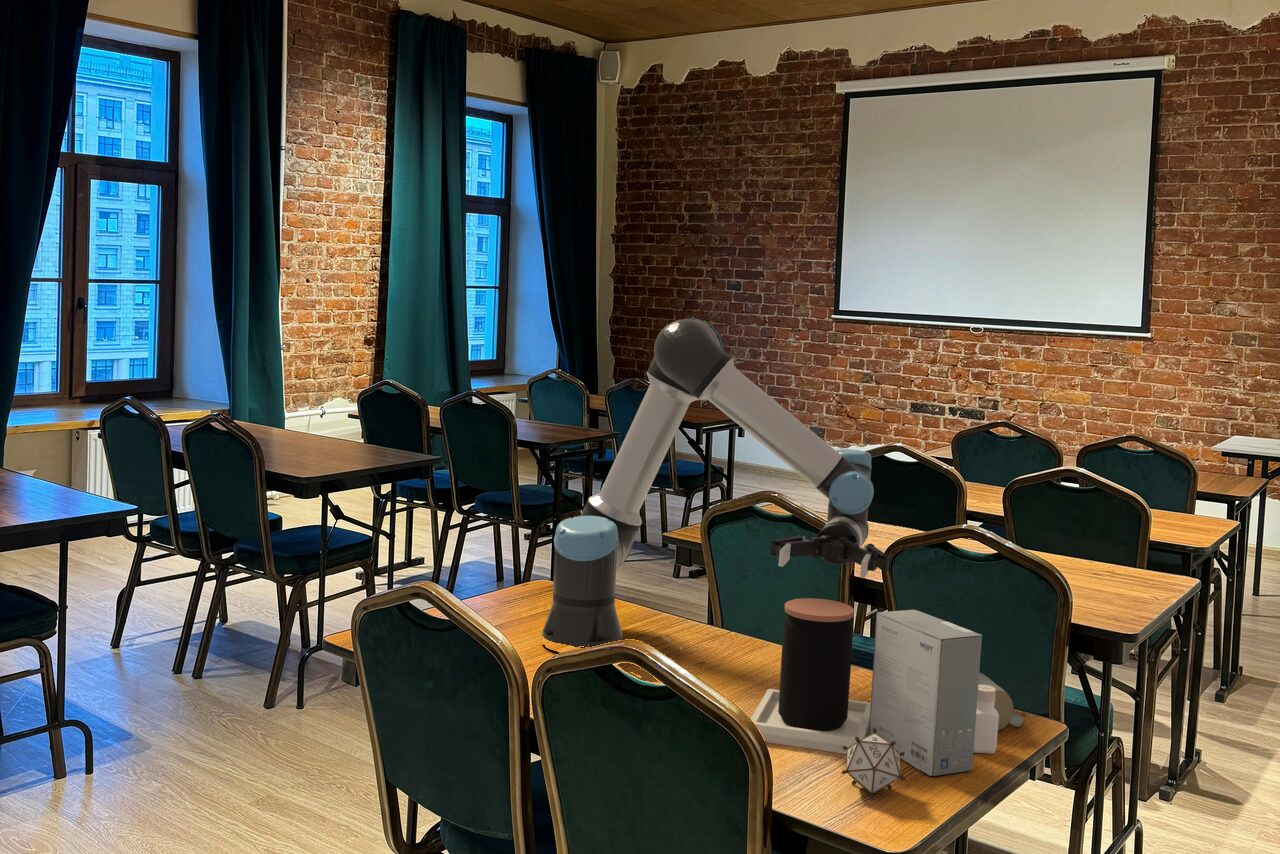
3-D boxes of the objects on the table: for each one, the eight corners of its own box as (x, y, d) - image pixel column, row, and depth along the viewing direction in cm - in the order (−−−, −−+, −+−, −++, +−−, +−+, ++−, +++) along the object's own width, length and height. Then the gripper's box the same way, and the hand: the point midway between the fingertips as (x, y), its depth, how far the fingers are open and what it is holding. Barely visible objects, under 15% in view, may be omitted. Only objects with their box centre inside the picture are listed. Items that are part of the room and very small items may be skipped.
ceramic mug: (973, 736, 180) (977, 687, 179) (946, 717, 188) (950, 671, 187) (1033, 733, 182) (1038, 686, 182) (1004, 715, 190) (1009, 669, 190)
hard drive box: (974, 772, 165) (985, 635, 163) (931, 779, 162) (941, 639, 160) (906, 733, 180) (915, 607, 177) (865, 739, 176) (874, 610, 174)
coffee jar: (861, 725, 179) (869, 610, 177) (812, 738, 172) (819, 619, 170) (811, 704, 187) (818, 594, 185) (763, 716, 181) (769, 602, 179)
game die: (884, 820, 157) (930, 776, 152) (834, 804, 154) (878, 759, 149) (868, 765, 164) (911, 722, 159) (819, 750, 161) (861, 705, 156)
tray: (747, 739, 174) (748, 723, 174) (767, 703, 190) (768, 688, 190) (861, 756, 169) (863, 739, 169) (872, 718, 186) (873, 703, 185)
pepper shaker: (969, 753, 172) (974, 691, 171) (963, 743, 176) (968, 682, 175) (996, 755, 172) (1001, 693, 171) (990, 745, 176) (995, 684, 175)
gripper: (906, 570, 209) (896, 597, 189) (770, 552, 217) (746, 575, 196) (910, 529, 208) (900, 551, 188) (773, 512, 216) (749, 532, 196)
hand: (821, 564), depth 192 cm, fingers open, 13 cm apart
